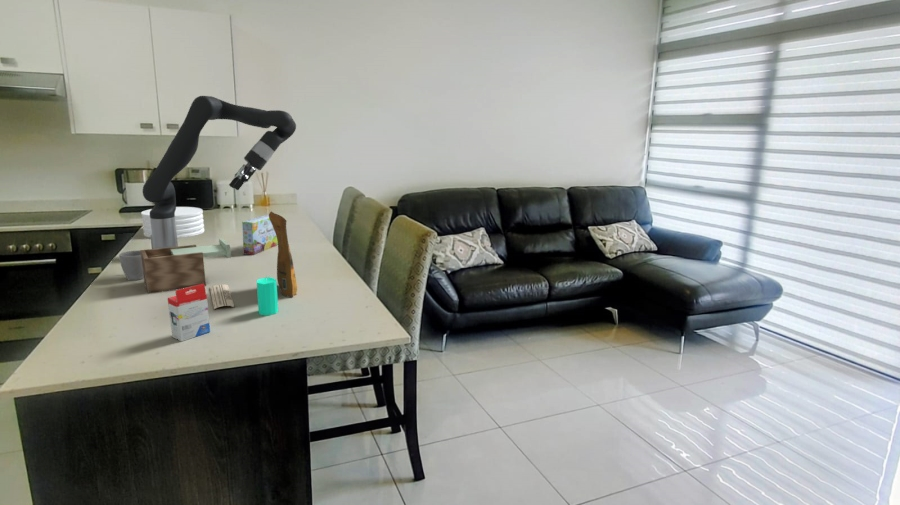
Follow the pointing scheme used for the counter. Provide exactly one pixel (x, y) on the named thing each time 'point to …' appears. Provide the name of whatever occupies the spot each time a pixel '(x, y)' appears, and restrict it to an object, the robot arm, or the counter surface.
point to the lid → (206, 250)
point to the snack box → (258, 235)
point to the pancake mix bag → (284, 257)
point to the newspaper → (221, 296)
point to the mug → (132, 264)
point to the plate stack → (179, 221)
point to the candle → (267, 296)
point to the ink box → (189, 313)
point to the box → (171, 269)
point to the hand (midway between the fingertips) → (233, 187)
